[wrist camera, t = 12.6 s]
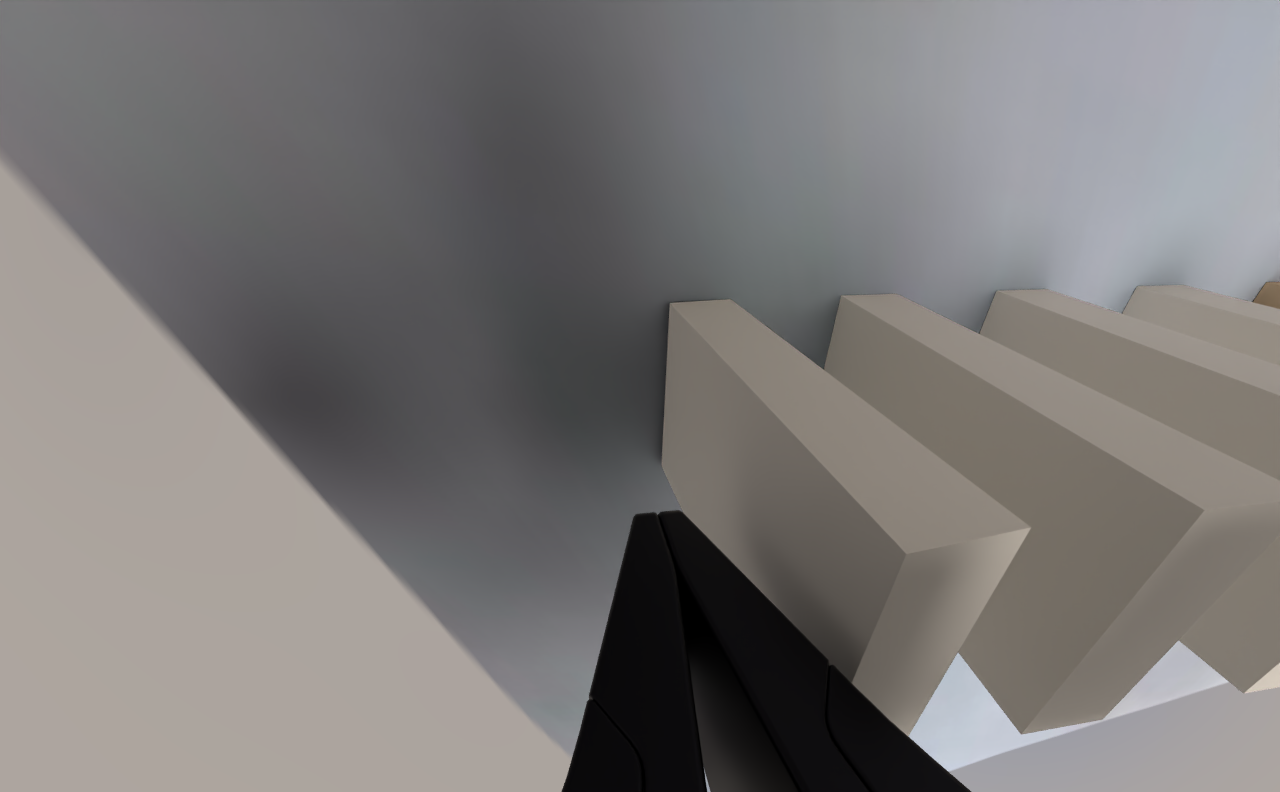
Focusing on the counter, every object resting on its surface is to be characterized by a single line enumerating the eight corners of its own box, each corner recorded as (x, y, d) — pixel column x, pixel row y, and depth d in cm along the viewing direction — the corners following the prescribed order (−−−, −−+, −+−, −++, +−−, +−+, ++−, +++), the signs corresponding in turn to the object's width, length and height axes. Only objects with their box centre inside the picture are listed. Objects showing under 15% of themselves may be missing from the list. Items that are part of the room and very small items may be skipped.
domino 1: (669, 303, 11) (907, 554, 5) (730, 299, 12) (1031, 527, 5) (661, 465, 14) (808, 783, 7) (711, 458, 14) (897, 754, 8)
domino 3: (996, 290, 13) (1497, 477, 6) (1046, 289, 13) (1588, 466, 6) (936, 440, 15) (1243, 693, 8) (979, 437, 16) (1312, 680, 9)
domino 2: (841, 295, 12) (1204, 509, 5) (896, 294, 12) (1313, 497, 6) (804, 451, 15) (1021, 734, 8) (851, 447, 15) (1102, 719, 8)
